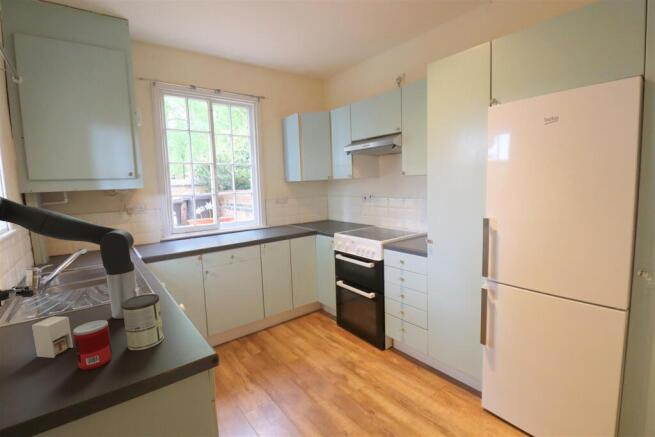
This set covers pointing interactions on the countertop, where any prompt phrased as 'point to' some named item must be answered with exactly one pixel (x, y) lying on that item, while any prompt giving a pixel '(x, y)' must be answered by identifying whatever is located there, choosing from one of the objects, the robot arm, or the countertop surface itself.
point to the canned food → (92, 344)
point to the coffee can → (142, 321)
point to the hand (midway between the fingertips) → (16, 298)
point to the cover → (51, 335)
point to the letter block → (59, 345)
